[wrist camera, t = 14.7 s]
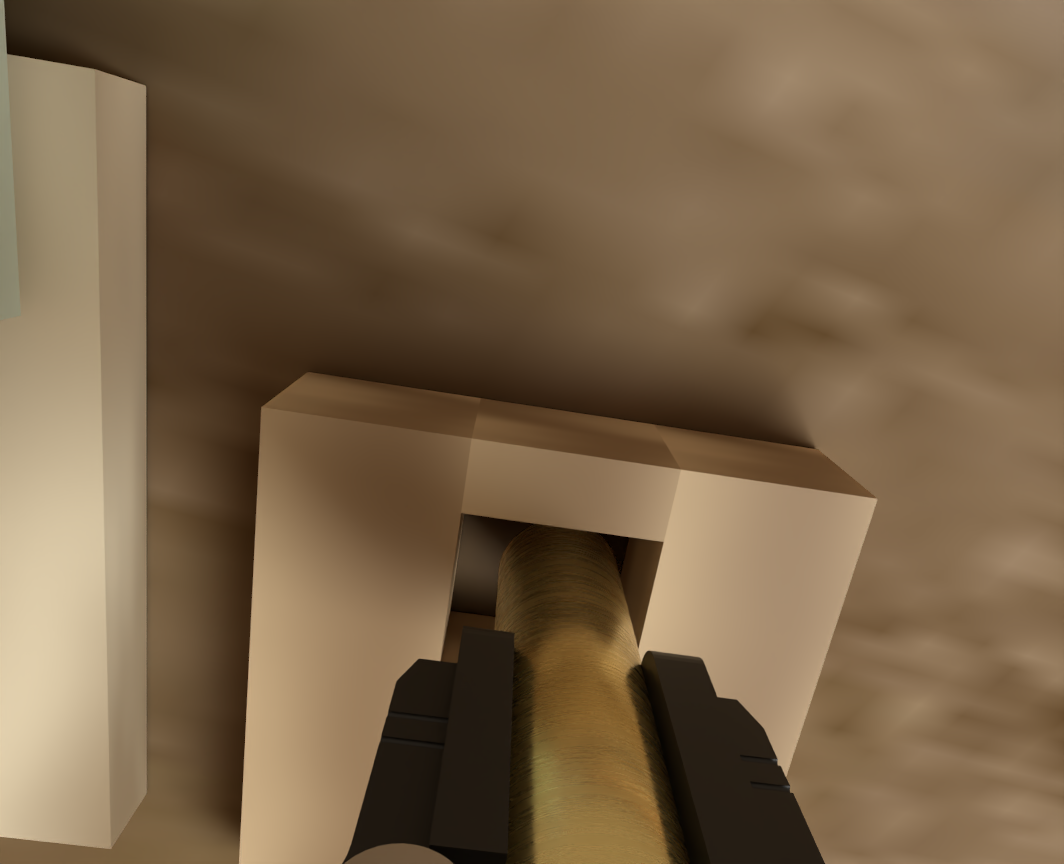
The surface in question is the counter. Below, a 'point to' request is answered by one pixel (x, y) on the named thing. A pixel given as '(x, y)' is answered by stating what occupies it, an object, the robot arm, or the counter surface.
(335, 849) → the socket board
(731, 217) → the counter surface
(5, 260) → the cover
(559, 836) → the peg
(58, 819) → the board
